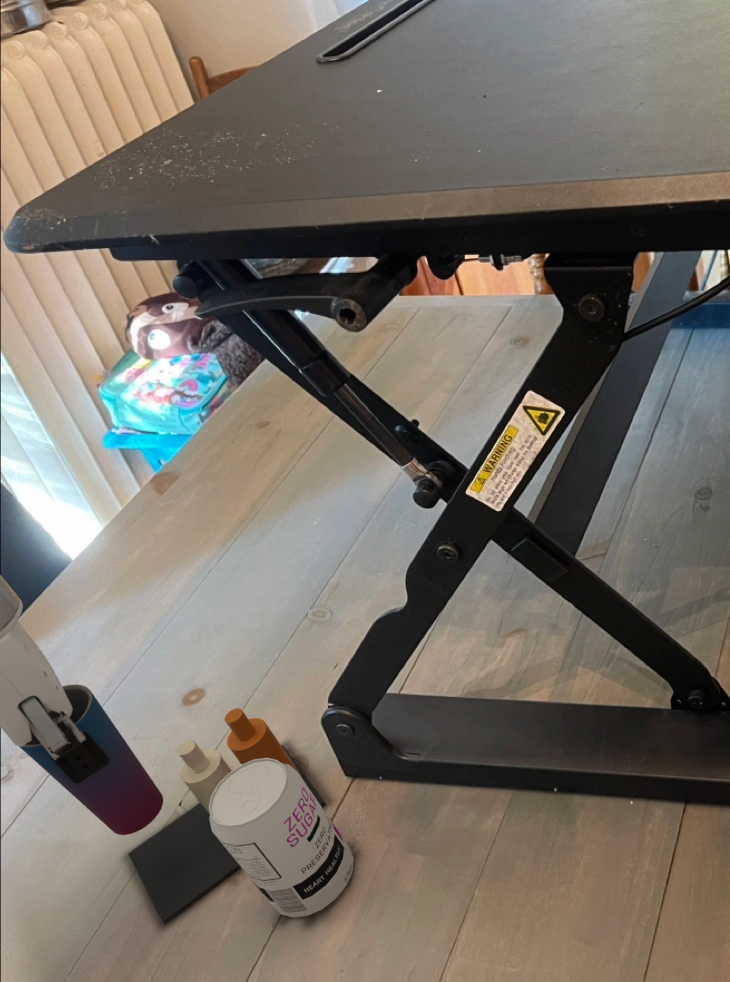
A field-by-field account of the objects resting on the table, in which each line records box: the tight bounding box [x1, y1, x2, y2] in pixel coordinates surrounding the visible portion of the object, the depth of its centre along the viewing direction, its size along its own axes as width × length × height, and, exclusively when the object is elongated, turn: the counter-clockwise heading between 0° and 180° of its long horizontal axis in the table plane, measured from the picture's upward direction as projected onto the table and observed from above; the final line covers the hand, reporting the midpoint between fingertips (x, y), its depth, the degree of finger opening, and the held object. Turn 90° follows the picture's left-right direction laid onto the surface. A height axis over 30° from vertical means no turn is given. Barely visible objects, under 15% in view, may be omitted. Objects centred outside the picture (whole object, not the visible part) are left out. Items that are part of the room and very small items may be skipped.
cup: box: [18, 684, 164, 836], centre depth 98 cm, size 7×7×15 cm
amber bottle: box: [224, 707, 302, 778], centre depth 110 cm, size 4×4×12 cm
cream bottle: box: [176, 739, 234, 814], centre depth 107 cm, size 4×4×12 cm
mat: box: [127, 744, 327, 925], centre depth 110 cm, size 18×11×1 cm, turn 132°
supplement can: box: [209, 758, 355, 918], centre depth 99 cm, size 8×8×15 cm
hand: (81, 749), depth 97 cm, fingers closed on cup, 6 cm apart
